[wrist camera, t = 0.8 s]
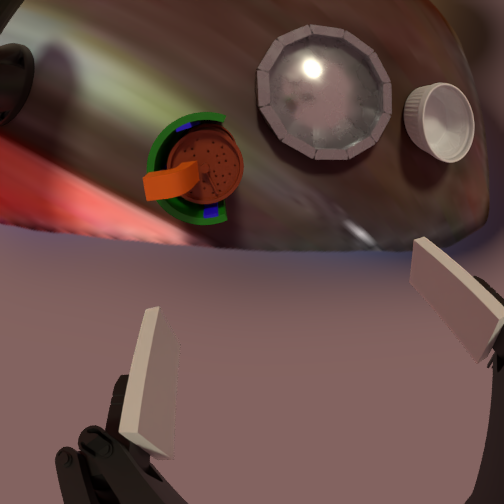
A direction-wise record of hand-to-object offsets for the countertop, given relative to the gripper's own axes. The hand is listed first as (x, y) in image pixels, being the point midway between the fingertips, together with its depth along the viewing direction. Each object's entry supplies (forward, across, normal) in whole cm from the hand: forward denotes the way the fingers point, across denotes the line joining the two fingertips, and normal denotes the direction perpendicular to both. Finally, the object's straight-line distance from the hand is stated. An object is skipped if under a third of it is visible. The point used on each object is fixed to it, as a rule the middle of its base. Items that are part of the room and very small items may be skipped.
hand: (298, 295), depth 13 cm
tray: (+29, +14, +9) cm, 34 cm away
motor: (+29, -5, +4) cm, 30 cm away
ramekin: (+29, +33, +4) cm, 44 cm away
